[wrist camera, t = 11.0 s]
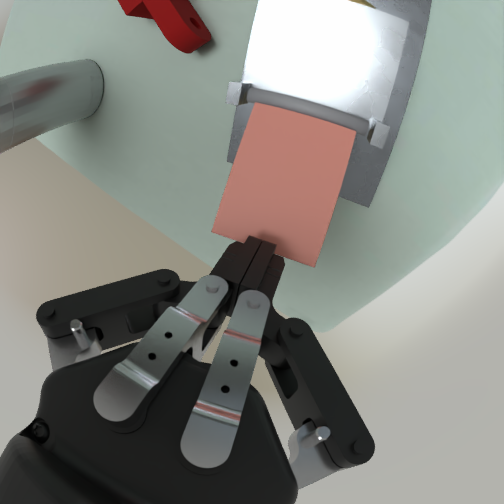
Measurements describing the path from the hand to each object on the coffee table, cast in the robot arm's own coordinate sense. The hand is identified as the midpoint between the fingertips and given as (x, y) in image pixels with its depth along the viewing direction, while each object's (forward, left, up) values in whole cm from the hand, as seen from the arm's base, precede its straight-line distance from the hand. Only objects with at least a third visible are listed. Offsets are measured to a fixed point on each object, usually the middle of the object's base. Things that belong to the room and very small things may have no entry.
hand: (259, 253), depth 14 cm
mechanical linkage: (-18, +17, -17) cm, 29 cm away
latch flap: (0, +3, -4) cm, 5 cm away
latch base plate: (0, +11, -16) cm, 20 cm away
